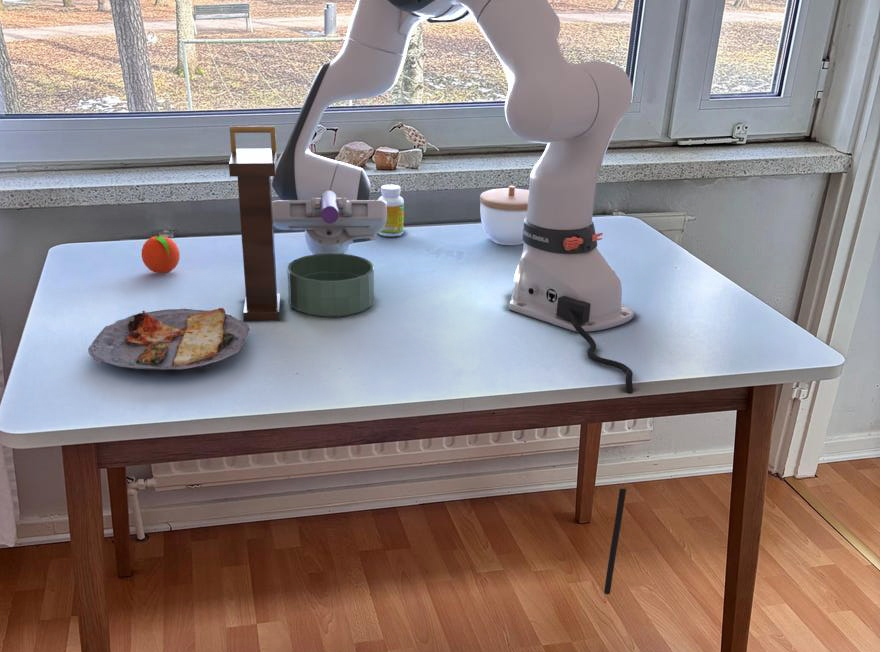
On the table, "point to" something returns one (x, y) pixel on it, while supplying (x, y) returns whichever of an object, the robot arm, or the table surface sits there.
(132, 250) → the table surface
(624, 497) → the robot arm
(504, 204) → the lidded bowl
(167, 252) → the clementine
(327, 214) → the glue stick
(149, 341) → the food plate
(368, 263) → the bowl
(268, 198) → the stand
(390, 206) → the supplement bottle
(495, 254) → the table surface
